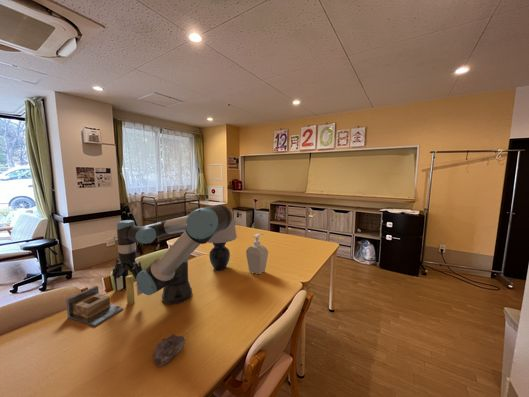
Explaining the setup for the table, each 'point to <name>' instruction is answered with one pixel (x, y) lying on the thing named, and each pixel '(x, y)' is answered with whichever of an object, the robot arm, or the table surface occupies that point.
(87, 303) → the block
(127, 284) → the dowel
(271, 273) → the table surface
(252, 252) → the soap bottle
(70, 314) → the dark grey angled piece
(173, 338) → the rock
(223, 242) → the lamp
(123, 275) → the cup
